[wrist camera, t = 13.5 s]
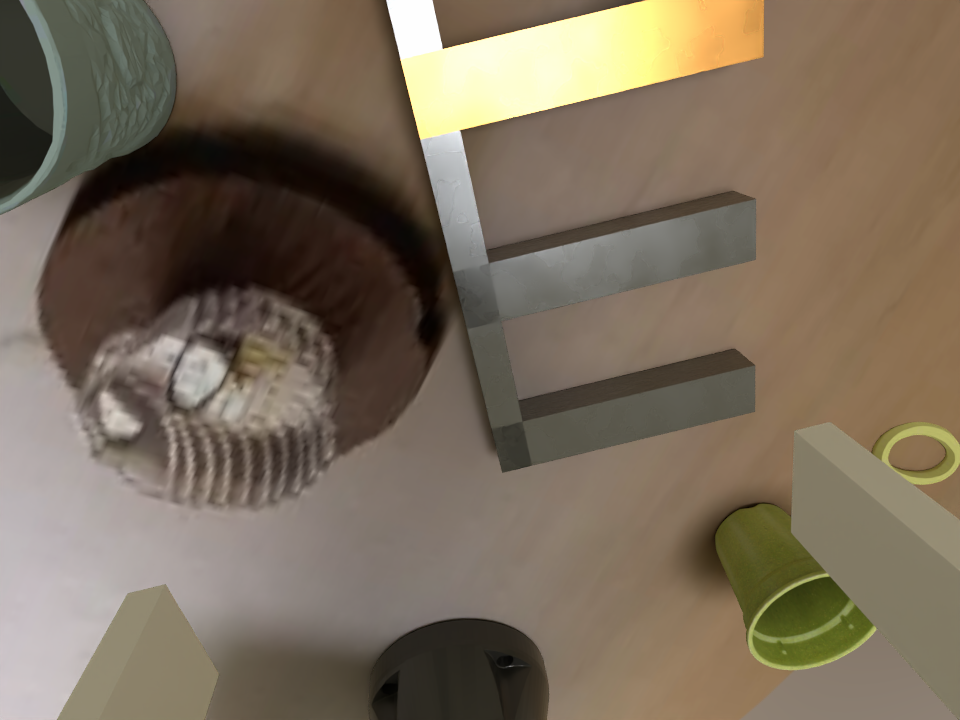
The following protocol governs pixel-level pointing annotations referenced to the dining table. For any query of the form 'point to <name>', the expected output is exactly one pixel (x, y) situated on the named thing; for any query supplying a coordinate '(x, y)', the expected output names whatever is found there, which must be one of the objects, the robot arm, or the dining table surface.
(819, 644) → the plant pot
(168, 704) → the robot arm
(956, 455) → the key
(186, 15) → the dining table surface
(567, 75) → the comb rail
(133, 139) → the green embossed cup
